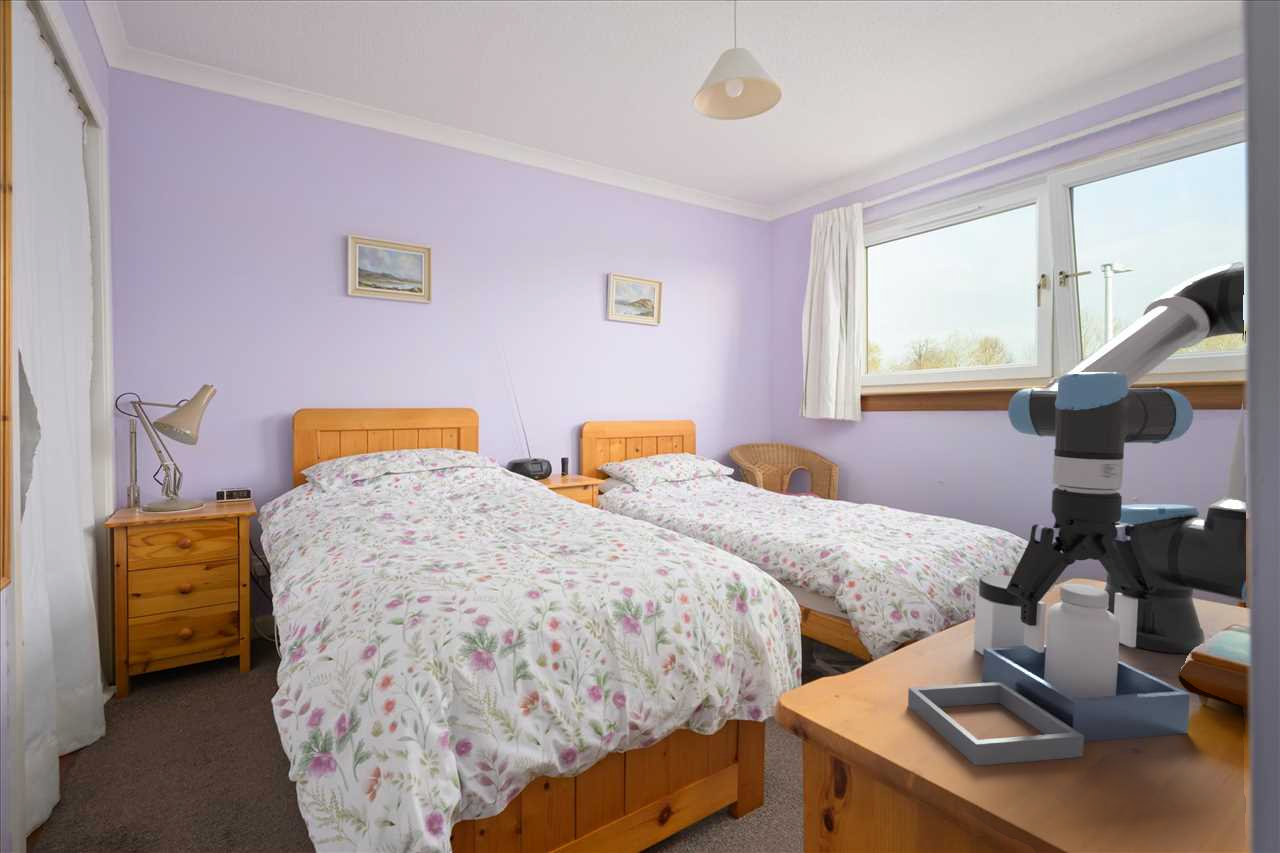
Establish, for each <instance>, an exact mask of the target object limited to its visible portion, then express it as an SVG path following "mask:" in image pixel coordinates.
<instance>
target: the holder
mask: <svg viewBox="0 0 1280 853" xmlns="http://www.w3.org/2000/svg"><path fill="white" fill-rule="evenodd" d="M907 695H908V697H907V700H908V701H907V702H908V703H907V706H908V708H910V709H911V710H912V711H913V712H914V713H915V714H917V715H918V716H919V717H920V718H921V719H922V720H924V721H925V723H927V724H928V725H929V726H930V727H931V728H933V729H934V730H935V731H936V732H937V733H938V734H939V735H940V736H942V738H944V739H945V740H946V741H947V742H948V743H949V744H950V745H951V746H953V747H954V748H955V749H956V750H957V751H958V752H960V754H962V756H964V757H965V758H967V760H968V761H970V762H971V763H972V764H973V766H975V767H977V766H978V767H980V766H988V765H990V766H991V765H999V764H1012V763H1024V762H1037V761H1039V762H1040V761H1048V760H1060V759H1071V758H1072V759H1073V758H1083V757H1084V746H1085V745H1084V736H1083V735H1082V734H1080V733H1079V732H1077V731H1076V730H1074V729H1073V728H1071V727H1070V726H1068V725H1067V724H1065V723H1063V722H1062V721H1060V720H1059V719H1057V718H1056V717H1054V716H1053V715H1051V714H1050V713H1048V712H1046V711H1045V710H1043V709H1042V708H1040V707H1039V706H1037V705H1036V704H1034V703H1033V702H1031V701H1030V700H1028V699H1026V698H1025V697H1023V696H1022V695H1020V694H1019V693H1017V692H1016V691H1014V690H1013V689H1011V688H1010V687H1008V686H1006V685H1005V684H1003V683H1002V682H990V683H984V682H977V683H961V684H947V685H945V684H943V685H931V686H917V687H916V686H913V687H908V694H907ZM983 704H986V705H987V704H1000V705H1002V706H1003V707H1004V708H1006V709H1007V710H1009V711H1010V712H1012V713H1013V714H1014V715H1015V716H1017V717H1019V718H1020V719H1022V721H1025V723H1027V724H1029V725H1030V726H1031V727H1032V728H1035V729H1036V730H1037V731H1039V732H1040V733H1042V734H1037V735H1025V736H1024V735H1023V736H1014V737H1013V736H1012V737H999V738H985V739H984V738H983V739H978V738H977V737H975V736H974V735H973V734H972V733H971V732H969V731H968V730H967V729H966V728H964V726H962V725H961V724H959V722H957V721H956V720H955V719H953V718H952V716H949V715H948V714H947V713H946V712H945V711H944V710H942V709H941V708H942V707H957V706H971V705H983Z"/></svg>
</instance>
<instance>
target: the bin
mask: <svg viewBox="0 0 1280 853" xmlns="http://www.w3.org/2000/svg"><path fill="white" fill-rule="evenodd" d="M1045 654H1046V644H1044V652H1040V653H1039V652H1037V651H1035V650H1033V649H1031V648H1030V647H1028V646H1013V647H995V648H984V650H983V655H982V656H983V659H982V676H981V677H982V681H981V683H990V682H1002V683H1003V684H1005V685H1006V686H1008V687H1010V688H1011V689H1013V690H1014V691H1016V692H1017V693H1019V694H1020V695H1022V696H1023V697H1025V698H1026V699H1028V700H1030V701H1031V702H1033V703H1034V704H1036V705H1037V706H1039V707H1040V708H1042V709H1043V710H1045V711H1046V712H1048V713H1050V714H1051V715H1053V716H1054V717H1056V718H1057V719H1059V720H1060V721H1062V722H1063V723H1065V724H1067V725H1068V726H1070V727H1071V728H1073V729H1074V730H1076V731H1077V732H1079V733H1080V734H1082V735H1083V736H1084V742H1085V743H1086V742H1095V741H1098V742H1099V741H1106V740H1107V741H1108V740H1110V741H1111V740H1119V739H1120V740H1121V739H1133V738H1142V737H1143V738H1145V737H1146V738H1147V737H1158V736H1170V735H1171V736H1172V735H1182V734H1188V731H1189V714H1190V697H1191V696H1190V695H1191V694H1190V693H1189V692H1186V691H1184V690H1182V689H1180V688H1178V687H1176V686H1173V685H1172V684H1169V683H1167V682H1165V681H1163V680H1160V679H1159V678H1157V677H1155V676H1154V675H1150V674H1148V673H1147V672H1145V671H1142V670H1140V669H1138V668H1135V667H1134V666H1131V665H1130V664H1128V663H1125V662H1124V661H1121V660H1120V659H1118V668H1117V683H1116V696H1105V697H1091V698H1076V699H1074V698H1073V697H1071V696H1069V695H1068V694H1066V693H1064V692H1063V691H1061V690H1059V689H1058V688H1056V687H1054V686H1052V685H1051V684H1049V683H1047V682H1046V681H1044V672H1045Z"/></svg>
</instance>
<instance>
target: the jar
mask: <svg viewBox="0 0 1280 853" xmlns="http://www.w3.org/2000/svg"><path fill="white" fill-rule="evenodd" d="M1012 576H1013V575H1012ZM1012 576H1010V575H1004V574H1003V575H1002V574H989V575H982V576H980V578H978V579H979V580H978V593H976V594H975V606H974V607H975V610H974V633H973V636H974V637H973V650H974V651H976V652H977V653H979V654H980V655H982V656H983V650H984V648H995V647H1013V646H1026V645H1024V623H1023V622H1022V621H1021V598H1020V597H1018V596H1016V595H1014V594H1011V593H1009V592H1008V591H1007V586H1008V584H1009V582H1010V580H1011V578H1012ZM1019 587H1020V586H1019ZM1033 591H1034V590H1033ZM1033 591H1032V592H1033Z"/></svg>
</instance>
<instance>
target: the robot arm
mask: <svg viewBox="0 0 1280 853" xmlns="http://www.w3.org/2000/svg"><path fill="white" fill-rule="evenodd" d="M1243 262H1244V261H1243ZM1243 262H1241V261H1240V262H1239V261H1238V262H1236V263H1235V262H1234V263H1228V264H1224V265H1220V266H1217V267H1215V268H1212V269H1209V270H1207V271H1204V272H1203V273H1200V274H1197V275H1196V276H1194V277H1191V278H1190V279H1188V280H1186V281H1184V282H1182V283H1181V284H1178V285H1176V286H1174V287H1173V288H1171V289H1170V290H1168V291H1166V292H1165V293H1164V294H1162V295H1161V296H1159V297H1158V298H1157V299H1155V300H1153V301H1152V302H1151V303H1150V304H1149V305H1147V307H1146V308H1145V309H1144V311H1143V316H1142V317H1141V318H1139V319H1138V320H1136V321H1135V322H1134V323H1132V324H1131V325H1129V326H1128V327H1127V328H1125V329H1124V330H1122V331H1121V332H1120V333H1119V334H1117V335H1116V336H1115V337H1113V338H1112V339H1110V340H1109V341H1108V342H1106V343H1105V344H1103V345H1102V346H1100V347H1099V348H1097V349H1096V350H1095V351H1093V352H1092V353H1091V354H1090V355H1088V356H1086V357H1085V358H1084V359H1082V360H1081V361H1080V362H1078V363H1077V364H1076V365H1074V366H1073V367H1071V368H1070V369H1069V370H1067V371H1066V372H1065V373H1063V374H1062V375H1060V376H1059V377H1058V378H1056V379H1055V380H1053V381H1052V382H1050V383H1049V384H1048V385H1046V386H1044V387H1040V388H1039V387H1036V386H1035V387H1031V388H1023V389H1020V390H1018V391H1017V392H1016V393H1015V394H1014V395H1013V396H1012V397H1011V399H1010V400H1009V401H1010V402H1009V405H1008V410H1007V414H1008V418H1009V421H1010V423H1011V426H1012V427H1013V428H1014V429H1015V431H1017V432H1018V433H1021V434H1026V435H1033V436H1038V437H1053V438H1055V439H1054V440H1055V446H1054V452H1053V454H1054V455H1053V467H1052V468H1053V469H1052V484H1054V485H1055V486H1057V487H1055V488H1054V489H1053V490H1052V493H1051V513H1052V514H1053V516H1054V519H1055V520H1054V521H1055V522H1054V524H1053V527H1049V526H1045V525H1042V524H1037V523H1036V524H1035V523H1034V524H1032V526H1031V531H1030V536H1029V542H1028V543H1027V545H1026V548H1025V550H1024V552H1023V554H1022V556H1021V558H1020V560H1019V562H1018V564H1017V566H1016V567H1015V570H1014V573H1013V574H1012V578H1011V580H1010V582H1009V584H1008V586H1007V591H1008V592H1009V593H1011V594H1014V595H1016V596H1018V597H1020V598H1021V621H1022V622H1023V623H1024V645H1026V646H1028V647H1030V648H1031V649H1033V650H1035V651H1037V652H1039V653H1040V652H1044V645H1046V642H1045V640H1046V636H1045V635H1046V620H1047V619H1046V616H1047V603H1046V602H1043V601H1042V599H1043V598H1044V596H1045V595H1046V594H1047V592H1049V590H1050V589H1051V587H1052V586H1053V585H1054V584H1055V582H1056V581H1057V580H1058V579H1059V577H1060V576H1061V575H1062V574H1063V572H1064V571H1065V570H1066V568H1068V566H1069V565H1070V566H1071V565H1073V564H1074V563H1075V562H1076V561H1086V560H1089V559H1091V560H1094V561H1099V563H1100V564H1101V565H1102V566H1103V569H1104V570H1106V581H1105V582H1106V584H1105V588H1104V590H1105V591H1106V592H1108V594H1109V604H1108V606H1109V608H1108V609H1107V611H1109V612H1111V613H1112V614H1113V615H1114V616H1116V618H1117V619H1118V621H1119V624H1120V636H1119V644H1123V645H1125V646H1126V647H1129V648H1140V649H1144V650H1149V651H1154V652H1163V653H1167V654H1168V653H1169V654H1170V653H1171V654H1192V653H1191V651H1192V650H1193V649H1194V648H1195V647H1197V646H1199V645H1200V644H1202V643H1204V644H1205V639H1206V638H1205V637H1206V636H1205V632H1204V630H1203V628H1202V627H1201V624H1200V620H1199V617H1198V613H1197V608H1196V606H1195V604H1194V603H1195V602H1194V599H1193V596H1194V595H1193V594H1194V590H1196V591H1200V592H1204V593H1207V594H1211V595H1215V596H1219V597H1222V598H1227V599H1230V600H1235V601H1238V602H1242V603H1244V604H1246V605H1248V604H1247V600H1246V476H1245V437H1244V414H1243V402H1242V404H1241V408H1240V415H1239V420H1238V424H1237V430H1236V434H1235V439H1234V445H1233V450H1232V454H1231V460H1230V465H1229V470H1228V475H1227V479H1226V480H1227V481H1226V485H1225V490H1224V494H1223V495H1224V496H1223V497H1222V498H1221V499H1220V500H1218V501H1216V502H1214V503H1213V504H1210V505H1208V510H1207V515H1206V517H1201V516H1200V517H1199V515H1200V513H1199V511H1198V508H1197V507H1196V506H1193V505H1187V504H1170V503H1169V504H1168V503H1167V504H1165V503H1161V504H1159V503H1152V504H1151V503H1145V504H1144V503H1143V504H1141V503H1140V504H1138V503H1137V504H1123V496H1122V495H1121V493H1119V492H1116V491H1119V490H1121V489H1122V487H1123V474H1124V473H1123V472H1124V454H1125V444H1135V443H1136V444H1139V443H1140V444H1143V443H1144V444H1145V443H1146V444H1147V443H1148V444H1153V445H1154V444H1160V443H1163V442H1170V441H1174V440H1176V439H1179V438H1180V437H1182V436H1183V435H1184V434H1186V433H1187V431H1188V430H1189V429H1190V427H1191V426H1192V423H1193V418H1194V411H1193V407H1192V404H1191V402H1190V401H1189V399H1188V398H1187V397H1186V396H1185V395H1183V394H1182V393H1180V392H1179V391H1176V390H1173V389H1169V388H1162V387H1160V386H1157V387H1131V386H1133V385H1134V384H1136V383H1137V382H1138V381H1140V379H1142V378H1144V377H1145V376H1147V374H1149V373H1150V372H1152V371H1153V370H1154V369H1156V368H1157V367H1158V366H1159V365H1161V364H1162V363H1163V362H1165V361H1166V360H1168V359H1169V358H1170V357H1172V356H1173V355H1174V354H1175V353H1177V352H1178V351H1179V350H1181V349H1186V348H1191V347H1194V346H1196V345H1198V344H1200V343H1201V342H1202V341H1204V340H1206V339H1209V338H1211V337H1218V336H1225V335H1234V334H1235V335H1236V334H1241V335H1242V337H1241V339H1242V340H1241V341H1243V342H1244V320H1243V295H1244V264H1243ZM1244 343H1245V344H1246V331H1245V342H1244ZM1019 586H1020V587H1019ZM1033 590H1034V591H1033ZM1032 591H1033V592H1032Z"/></svg>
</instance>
